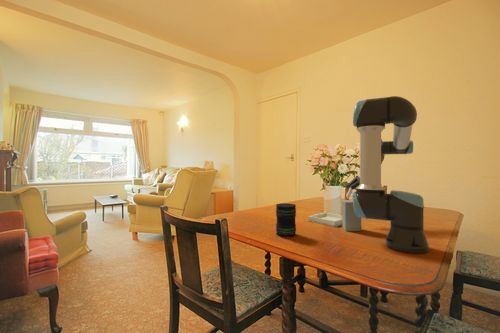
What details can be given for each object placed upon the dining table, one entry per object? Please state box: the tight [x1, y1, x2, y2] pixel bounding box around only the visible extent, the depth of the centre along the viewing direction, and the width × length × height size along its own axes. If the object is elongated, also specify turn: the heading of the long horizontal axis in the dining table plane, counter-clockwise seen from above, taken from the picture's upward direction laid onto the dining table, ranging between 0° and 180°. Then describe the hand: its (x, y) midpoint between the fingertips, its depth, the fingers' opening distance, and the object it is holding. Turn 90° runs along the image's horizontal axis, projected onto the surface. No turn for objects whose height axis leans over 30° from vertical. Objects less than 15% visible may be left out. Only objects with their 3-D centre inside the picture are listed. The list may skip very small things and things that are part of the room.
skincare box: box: [341, 199, 362, 232], centre depth 127 cm, size 8×7×16 cm
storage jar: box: [275, 202, 297, 238], centre depth 119 cm, size 10×10×15 cm
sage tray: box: [307, 212, 342, 228], centre depth 146 cm, size 18×18×3 cm
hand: (359, 198), depth 133 cm, fingers open, 13 cm apart
